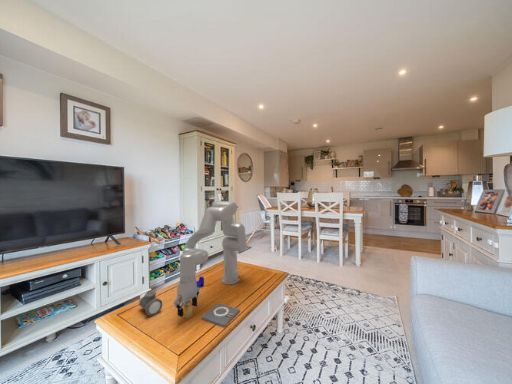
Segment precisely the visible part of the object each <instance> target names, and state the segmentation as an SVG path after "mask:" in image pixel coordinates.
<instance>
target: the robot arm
mask: <svg viewBox="0 0 512 384" xmlns="http://www.w3.org/2000/svg"><path fill="white" fill-rule="evenodd" d="M237 210H238V205H237V203H236V202H235V201H231V200H230V201H229V200H226V201H225V200H224V201H223V200H220V201H219V200H217V201H213V202H212V204H211V206H210V207H207V208H206V210H205V212H204V214H203V217H202V220H201V221H200V224H199V227H198V230H196V231H195V232H194V233H193V234H192V235H191V236H190V237H189V238H188V239H187V241H186V243H185V246H184V248H183V251H182V253H181V254H180V256H179V281H178V283H177V289H176V299H175V300H174V301H173V305H174V308H176V309H177V316H178V317H181V318H184V304H185V303H186V302H188V301H189V300H190V301H191V303H192V307H195V308H196V307H198V298H199V294H200V291H201V288H199V287H197V279H196V273H197V272H196V266H198V265H203V264H205V263H206V262H207V261H208V260H209V253H208V251H207V250H205V249H201V248H195V246H196V245H197V244H198V243H199V242H200V241H202V240H203V239H205V238H208V237H210V236H211V235H213V234H214V231H215V228H216V224H217V222H221V229H222V234H223V235H224V236H225V237H224V238H222V241H221V246H222V250H223V251H222V252H223V277H222V278H221V282H222V284H225V285H235V284H237V283H239V282H240V277H239V276H238V275H239V274H240V272H241V271H239V270H238V254H237V252H244V251H245V250H246V248H247V237H246V235H247V234H246V228H245V225H244V224H243V223H241V222H235V221H234V220H235V219H234V215H235V214H236V213H237Z"/></svg>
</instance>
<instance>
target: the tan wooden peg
mask: <svg viewBox="0 0 512 384" xmlns="http://www.w3.org/2000/svg"><path fill="white" fill-rule="evenodd" d="M192 317H193V306H192V300H189V301H188V302H186V303H184V305H183V318H184V319H187V320H188V319H190V318H192Z"/></svg>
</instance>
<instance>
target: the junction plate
mask: <svg viewBox="0 0 512 384" xmlns="http://www.w3.org/2000/svg"><path fill="white" fill-rule="evenodd" d="M239 313H240V308H237V307H233V306H230V305H226V304H223V303H220V302H218V303H216V305H214V306H213V307H212V308H210V309H209V310H208V311H207V312H206V313H205V314H203V315H202V316H201V320H202V321H205V322H207V323H210V324H212V325H213V324H214V325H216V326H219V327H221V326H222V328H224V327H225V326H226V325H227V324H228V323H229V324H230V323H231V321H232V320H233V319H234V318H236V316H237V315H239ZM229 324H228V325H229ZM228 325H227V326H228ZM227 326H226V327H227ZM226 327H225V328H226Z"/></svg>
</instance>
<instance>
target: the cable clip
mask: <svg viewBox="0 0 512 384" xmlns="http://www.w3.org/2000/svg"><path fill="white" fill-rule="evenodd" d="M196 282H197V287H199V288H200V289H201V288H203V287H205V277H204V276H202V275H201V276H199V278H198V280H196Z"/></svg>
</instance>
